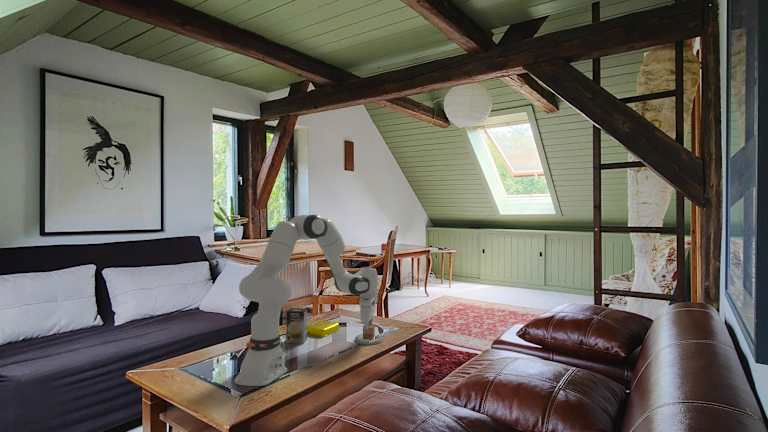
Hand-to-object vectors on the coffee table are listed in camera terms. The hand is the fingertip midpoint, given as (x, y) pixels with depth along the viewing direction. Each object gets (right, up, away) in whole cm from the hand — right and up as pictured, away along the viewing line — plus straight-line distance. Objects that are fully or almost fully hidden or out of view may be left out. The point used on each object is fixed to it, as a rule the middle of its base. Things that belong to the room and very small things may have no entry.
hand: (368, 326), depth 211 cm
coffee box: (-36, -7, -2) cm, 36 cm away
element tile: (-26, -7, +15) cm, 31 cm away
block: (0, -6, +1) cm, 6 cm away
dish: (0, -7, +1) cm, 7 cm away
